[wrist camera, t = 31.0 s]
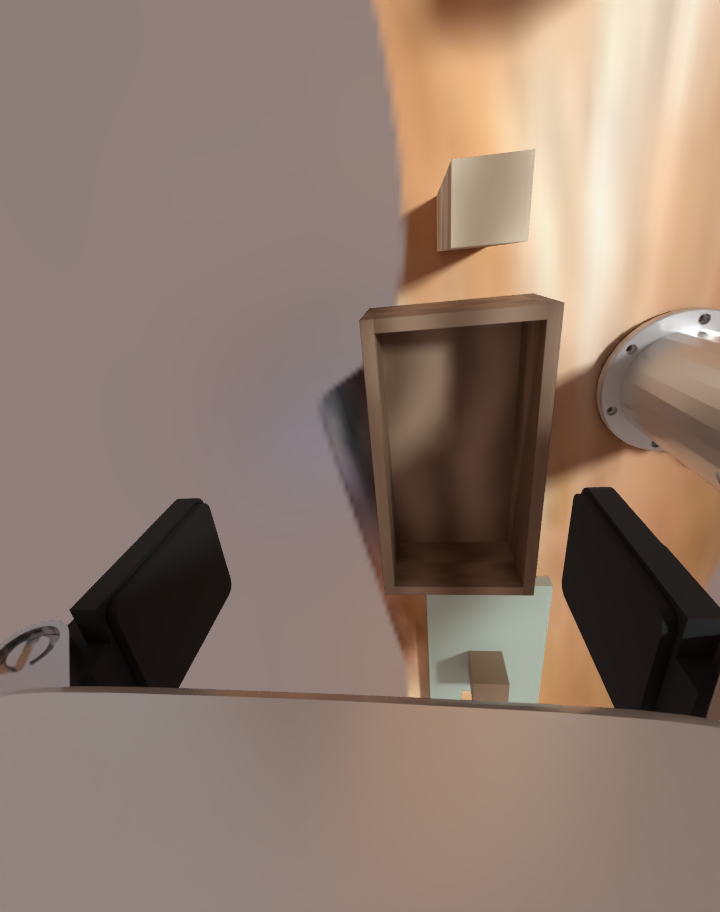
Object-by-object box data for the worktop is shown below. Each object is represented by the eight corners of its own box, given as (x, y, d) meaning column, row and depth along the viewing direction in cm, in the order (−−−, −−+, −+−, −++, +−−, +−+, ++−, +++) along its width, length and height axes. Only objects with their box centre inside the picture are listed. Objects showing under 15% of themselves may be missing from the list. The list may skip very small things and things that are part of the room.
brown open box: (533, 293, 35) (564, 302, 28) (514, 542, 46) (533, 595, 39) (369, 308, 37) (359, 320, 30) (388, 544, 48) (385, 594, 41)
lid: (549, 576, 48) (566, 617, 42) (531, 720, 58) (543, 767, 53) (425, 576, 50) (427, 615, 44) (430, 715, 60) (432, 760, 55)
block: (488, 189, 32) (535, 149, 20) (486, 247, 34) (527, 240, 22) (436, 195, 33) (451, 159, 21) (436, 251, 35) (451, 248, 22)
